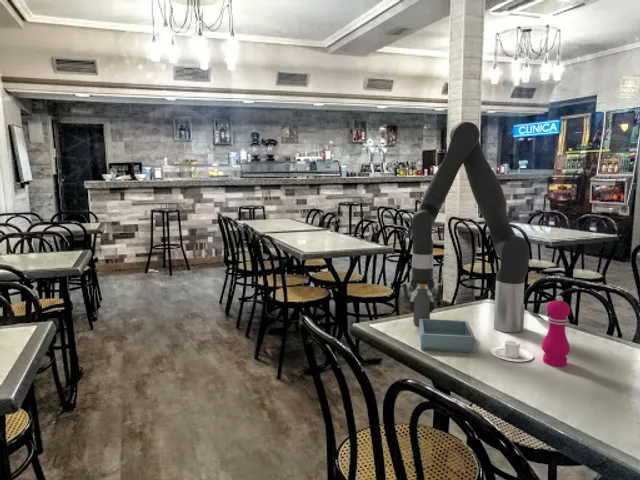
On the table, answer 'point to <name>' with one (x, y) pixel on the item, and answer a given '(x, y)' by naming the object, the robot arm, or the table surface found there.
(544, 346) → the pepper mill
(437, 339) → the tote
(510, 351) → the candle holder
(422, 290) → the bottle
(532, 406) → the table surface
